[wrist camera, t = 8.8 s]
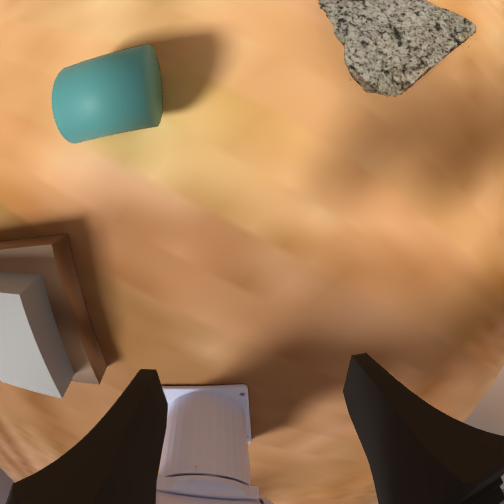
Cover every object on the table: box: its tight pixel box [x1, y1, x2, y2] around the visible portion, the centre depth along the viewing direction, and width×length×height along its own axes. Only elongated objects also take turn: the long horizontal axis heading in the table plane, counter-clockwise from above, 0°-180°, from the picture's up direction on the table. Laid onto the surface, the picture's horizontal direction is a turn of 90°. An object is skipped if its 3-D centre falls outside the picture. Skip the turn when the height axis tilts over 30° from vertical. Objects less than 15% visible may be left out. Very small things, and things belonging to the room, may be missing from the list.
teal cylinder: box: [52, 44, 163, 143], centre depth 13 cm, size 5×5×5 cm
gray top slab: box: [0, 273, 75, 398], centre depth 16 cm, size 9×9×3 cm
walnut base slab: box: [0, 234, 107, 384], centre depth 19 cm, size 12×12×3 cm
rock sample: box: [318, 0, 476, 97], centre depth 12 cm, size 10×8×9 cm
